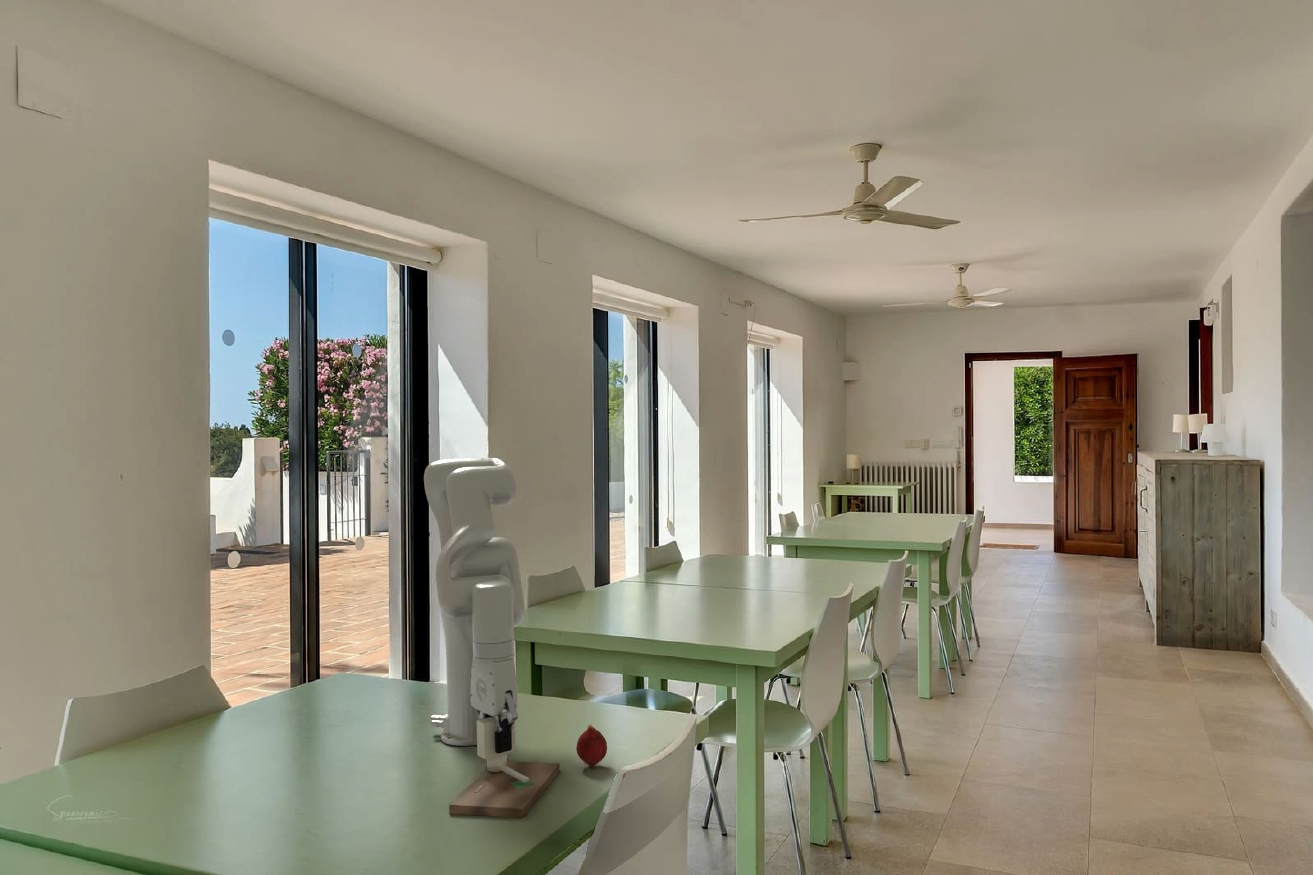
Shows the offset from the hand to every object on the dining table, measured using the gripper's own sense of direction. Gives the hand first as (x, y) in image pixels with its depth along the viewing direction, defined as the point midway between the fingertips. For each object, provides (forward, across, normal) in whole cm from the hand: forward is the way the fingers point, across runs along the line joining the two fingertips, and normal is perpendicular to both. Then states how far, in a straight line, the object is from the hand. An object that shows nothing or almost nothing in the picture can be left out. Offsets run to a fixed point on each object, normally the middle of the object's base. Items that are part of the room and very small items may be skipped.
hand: (496, 747), depth 168 cm
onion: (+6, +7, +16) cm, 19 cm away
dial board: (+6, +7, -2) cm, 9 cm away
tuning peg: (+4, +4, 0) cm, 6 cm away
